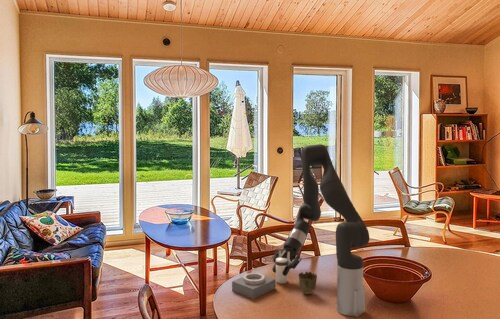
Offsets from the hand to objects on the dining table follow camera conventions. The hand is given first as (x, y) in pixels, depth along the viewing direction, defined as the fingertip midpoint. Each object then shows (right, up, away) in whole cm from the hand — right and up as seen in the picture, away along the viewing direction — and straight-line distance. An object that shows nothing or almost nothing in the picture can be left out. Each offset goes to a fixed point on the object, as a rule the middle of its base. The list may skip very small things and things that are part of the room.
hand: (278, 273), depth 167 cm
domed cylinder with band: (+1, -4, +2) cm, 5 cm away
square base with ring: (-11, -5, -7) cm, 14 cm away
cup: (+11, -5, -11) cm, 17 cm away
